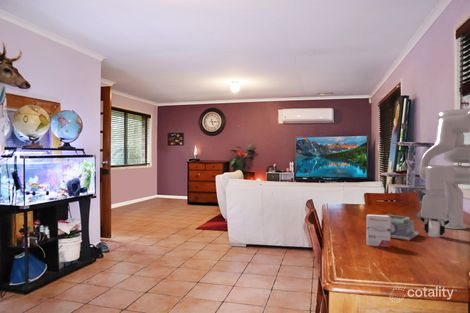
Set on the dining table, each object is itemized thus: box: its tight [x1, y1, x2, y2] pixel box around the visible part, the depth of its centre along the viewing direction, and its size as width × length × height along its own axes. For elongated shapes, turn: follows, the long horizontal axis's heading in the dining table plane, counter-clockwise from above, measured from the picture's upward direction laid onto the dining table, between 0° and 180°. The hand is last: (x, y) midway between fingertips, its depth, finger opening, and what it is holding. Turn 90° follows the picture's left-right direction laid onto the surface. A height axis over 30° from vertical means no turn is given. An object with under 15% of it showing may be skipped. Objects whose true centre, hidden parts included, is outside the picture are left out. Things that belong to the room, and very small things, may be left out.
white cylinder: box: [427, 218, 442, 238], centre depth 149 cm, size 5×5×8 cm
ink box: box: [365, 214, 392, 248], centre depth 132 cm, size 9×5×12 cm, turn 71°
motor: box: [385, 214, 419, 241], centre depth 151 cm, size 16×16×8 cm
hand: (434, 233), depth 149 cm, fingers closed on white cylinder, 5 cm apart
